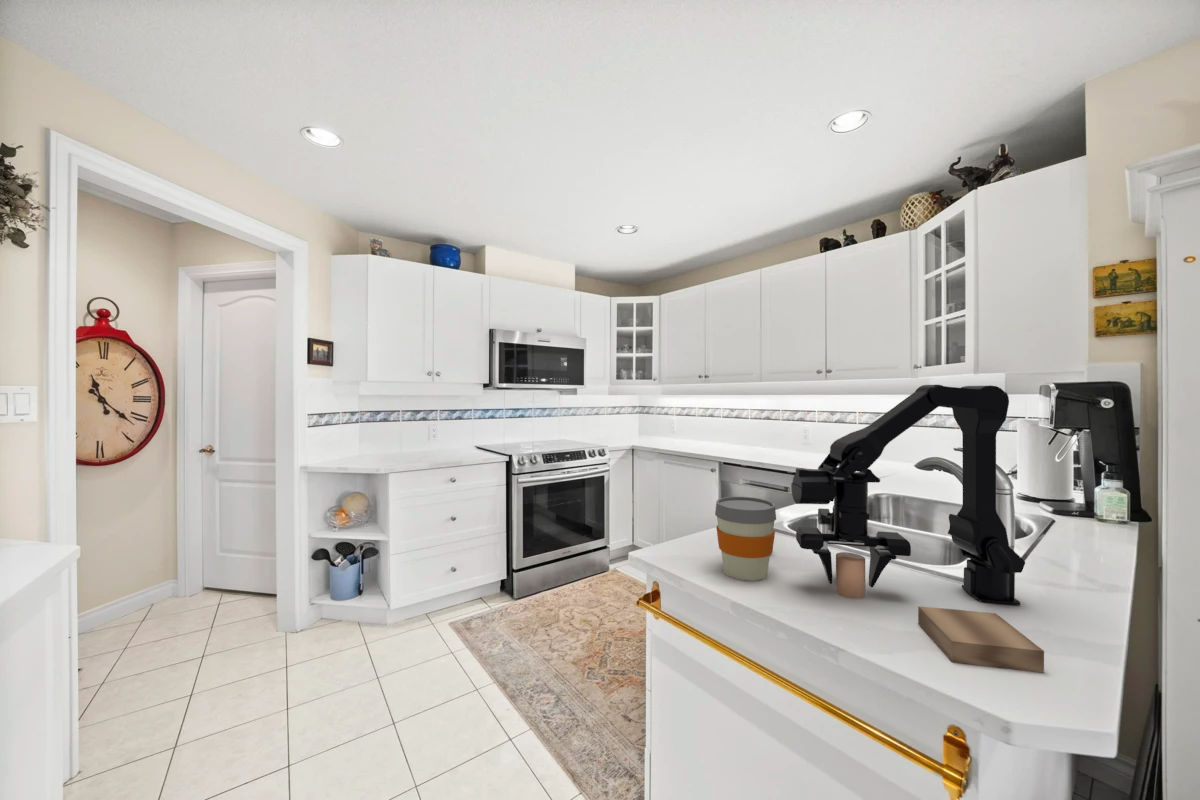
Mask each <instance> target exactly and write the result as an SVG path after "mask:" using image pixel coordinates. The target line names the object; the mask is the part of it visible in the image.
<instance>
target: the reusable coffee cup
mask: <svg viewBox="0 0 1200 800" xmlns="http://www.w3.org/2000/svg"><path fill="white" fill-rule="evenodd" d="M775 505H776V503H774V502H772V501H770V500H767V499H762V498H757V497H750V496H727V497H721V498H718V499H717V500H716V502H715V512H714V513H715V514H714V515H715V517H716V520H717V525H716V527H715V528H716V534H717V535H716V536H717V543H718V548H719V550H720V552H721V559H722V567H723V568H722V569H723V571H724V573H725V575H727V574H728V575H729V577H730V576H731V578H734V579H736V580H741V581H746V580H747V581H749V582H750V581H752V582H754V581H762V580H764V579H766V578H767V577H768V570H769V565H770V556H771V555H772V554H773V550H774V543H775V535H776V532H775V531H776V530H774V527H775V522H776V520H777V512H776V506H775ZM728 575H727V576H728ZM761 579H762V580H761Z"/></svg>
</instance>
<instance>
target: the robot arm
mask: <svg viewBox="0 0 1200 800" xmlns="http://www.w3.org/2000/svg"><path fill="white" fill-rule="evenodd" d="M1009 406H1010V399H1009V394H1008V393H1007V392H1006V391H1004V390H1003V389H1002V388H1001V387H999V386H997V385H964V386H962V387H956V386H944V385H943V384H924V385H921V386H919V387H918V388H916V390H915V391H914V392H913V393H911V394H910V395H908V396H907V397H905V399H903V400H902V401H900V402H899V403H897V404H896V405H895V406H894V407H893V408H891V409H889V410H888V411H887V412H885V413H884V414H883V415H881V416H880V417H879V418H877V419H876V420H874V421H873V422H872V423H870V424H869V425H867V426H865V427H863V428H861V429H858V430H855V431H852V432H850V433H848V434H845V435H844V436H842V437H840V438H837V439H836V440H834V441H833V442H832V443H831V445H830V446H829V453H828V454H827V456H826V457H825V458H824V459H823V461H822V462H821V463H820V464H819V466H818V467H817V469H815V468H814V469H811V468H810V469H809V468H808V469H807V468H803V467H802V468H801V467H797V468H795V474H794V476H793V477H792V482H791V488H790V489H791V490H790V491H791V495H792V499H793V501H794V503H795V504H796V505H829V504H830V502H833V505H832V512H830V509H829V508H818V509H817V518H818V519H817V521H818V522H817V523H818V525H825V526H827V529H828V531H830V532H832V533H823V532H821V531H820V529H819V528H818V527H810V526H809V527H808V526H799V527H798V528H797V529H796V530H795V531H796V532H795V536H796V537H795V540H796V542H797V544H798V545H799V547H800V548H801V549H804V550H811V551H812V552H813V554H815V555H818V556H819V558H820V560H821V565H822V567H823V570H824V573H825V576H826V578H827V581H828V584H829V585H832V584H833V564H832V563H833V562H832V552H831V550H830V549H829V548H828V545H836V546H837V545H839V546H852V547H853V546H854V547H867V548H868V549H869V555H870V557H869V559H870V561H869V567H868V568H869V570H868V586H869V587H870V588H874V586H875V585H876V583H877V581H878V580H879V578H880V576H881V574H882V573H883V572H884V570H885V568H887V567H886V566H888V564H889V563H890V561H892V560H893V561H894V560H897V556H898V557H899V556H900V557H901V556H902V557H910V556H912V555H911V554H912V550H911V549H912V546H911V543H910V541H908V539H907V538H905V537H904V536H902V535H901V534H900V533H898V532H897V531H895V532H894V531H893V532H892V531H877V532H876V535H875V536H871V535H869V532H868V529H869V527H868V526H869V525H868V523H869V522H868V521H869V520H870V513H869V511H868V510H869V502H868V498H869V496H868V495H869V491H868V490H869V489H868V487H869V486H868V485H869V484H868V483H880V482H881V478H880V477H878V476H877V475H875V473H874V472H873V471H872V469H869V468H870V467H871V466H872V465H873V464H874V463H875V462H876V461H877V460H878V459H879V458H880V457H881V456H882V454H883V451H884V450H885V448H886V447H887V445H888V444H890V443H891V442H892V441H894V440H895V439H896V438H897V437H899V436H900V435H902V434H903V433H905V431H907V430H909V429H910V428H911V427H912V426H914V425H915V424H917V423H918V422H919V421H921V420H922V419H923V418H925V417H926V416H928V415H929V414H931V413H932V412H933V411H935V410H936V409H937V408H939V407H941V408H948V409H952V414H953V418H954V420H955V421H956V424H957V425H958V428H959V429H960V431H961V433H962V505H961V508H960V509H959V511H958V512H957V514H953V513H950V514H948V522H949V529H948V531H947V534H948V535H950V537H951V541H952V543H954V545H955V546H957V548H958V550H959V552H960V554H961V556H963V557H966V558H967V559H966V566H965V567H964V568H963V584H962V585H961V588H962V589H963V590H964V591H965V592H967V593H968V594H969V595H971V596H972V597H973V598H975V599H976V600H977V601H979V602H983V603H992V604H993V603H994V604H995V603H996V604H1005V605H1006V604H1007V605H1019V606H1020V605H1021V601H1020V600H1018V599H1017V598H1015V593H1016V592H1015V590H1016V588H1015V586H1016V585H1015V582H1016V580H1015V579H1016V578H1015V577H1016V575H1015V574H1017V573H1023V570H1024V567H1025V565H1026V561H1025V560H1024V559H1023V558H1022V557H1021V556H1020V555H1019V554H1018V553H1017V552H1015V550H1013V548H1011V547H1010V544H1009V543H1010V542H1009V538H1008V533H1007V528H1006V526H1005V525H1004V522H1003V521H1002V519H1001V517H1000V516H999V514H998V512H997V434H998V432H999V430H1000V429H1001V427H1002V426H1003V424H1004V423H1005V421H1006V419H1007V415H1008V411H1009V410H1008V409H1009Z"/></svg>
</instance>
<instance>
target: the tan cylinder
mask: <svg viewBox="0 0 1200 800" xmlns="http://www.w3.org/2000/svg"><path fill="white" fill-rule="evenodd" d="M835 592H836V593H837V594H838V595H840V596H842V597H845V598H847V599H854V600H855V599H857V600H858V599H859V600H860V599H864V598H865V597H866V557H864V556H863V555H861V554H858V553H855V552H854V553H853V552H845V551H843V552H837V553H836V554H835Z"/></svg>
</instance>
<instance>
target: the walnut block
mask: <svg viewBox="0 0 1200 800" xmlns="http://www.w3.org/2000/svg"><path fill="white" fill-rule="evenodd" d="M917 608H918V609H917V610H918V612H917V613H918V614H917V615H918V616H917V618H918V619H917V621H918V624H917V625H919V627H920V628H921V629H922V630H923V631H924V632H925V633H926V634H927V636H928V637H929V638H930V639H931V641H933V642H934V644H935V645H936V646H937V647H938V648H939V649H940V650H941V652H942V653H943V654H944V655H945V656H946V657H947V658H948V659H949V661H951V663H958V664H959V663H960V664H967V665H975V666H984V667H992V668H994V667H995V668H1002V669H1011V670H1019V671H1020V670H1021V671H1028V672H1029V671H1030V672H1037V673H1045V650H1044V649H1042V648H1041V647H1040V646H1038V645H1037V644H1035V643H1034V641H1032V640H1031V639H1029V638H1028V637H1027V636H1026V635H1024V634H1023V633H1022V632H1021V631H1019V630H1018V629H1017V628H1015V626H1013V625H1011V624H1010V623H1009V622H1008V621H1007V620H1005V619H1004V618H1002V617H1001V616H1000V615H999V614H997V613H996V612H987V611H986V612H984V611H975V610H974V611H973V610H965V609H953V608H942V607H941V608H940V607H933V606H932V607H931V606H923V605H920V606H918V607H917Z"/></svg>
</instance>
